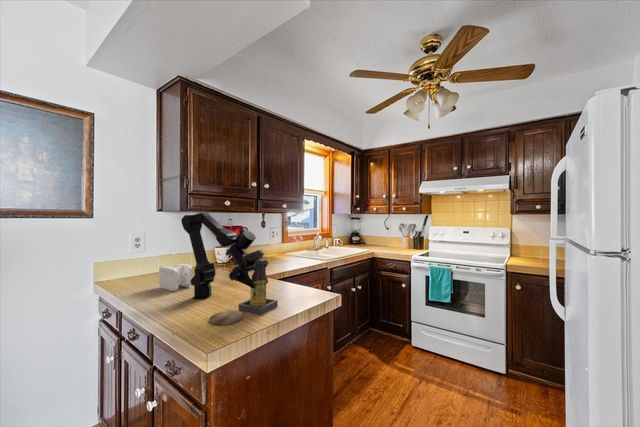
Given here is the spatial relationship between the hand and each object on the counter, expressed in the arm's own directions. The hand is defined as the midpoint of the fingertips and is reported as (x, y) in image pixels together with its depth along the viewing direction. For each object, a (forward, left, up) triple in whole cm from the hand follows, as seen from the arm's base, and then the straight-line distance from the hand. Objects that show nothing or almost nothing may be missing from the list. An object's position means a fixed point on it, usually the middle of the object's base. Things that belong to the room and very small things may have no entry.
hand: (261, 285), depth 112 cm
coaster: (-11, -10, -10) cm, 17 cm away
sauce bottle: (-1, +1, -10) cm, 10 cm away
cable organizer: (-51, +31, -10) cm, 60 cm away
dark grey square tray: (-1, +1, -10) cm, 10 cm away
